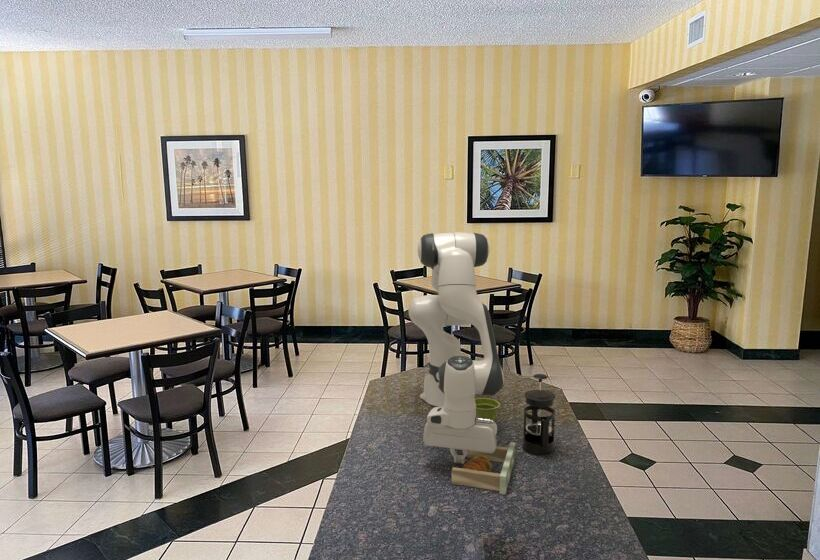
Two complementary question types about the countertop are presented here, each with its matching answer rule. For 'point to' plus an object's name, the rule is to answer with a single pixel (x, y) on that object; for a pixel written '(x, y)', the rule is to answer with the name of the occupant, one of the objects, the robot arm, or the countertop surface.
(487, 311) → the robot arm
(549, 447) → the french press
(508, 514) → the countertop surface
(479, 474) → the wooden wall rack
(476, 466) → the pastry
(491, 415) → the plant pot
